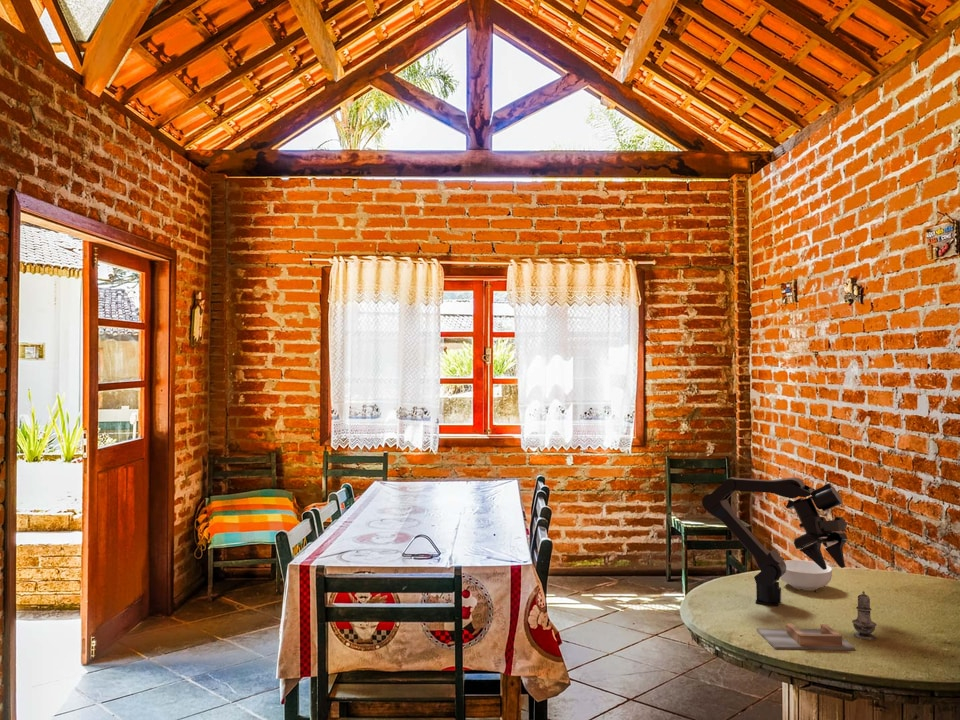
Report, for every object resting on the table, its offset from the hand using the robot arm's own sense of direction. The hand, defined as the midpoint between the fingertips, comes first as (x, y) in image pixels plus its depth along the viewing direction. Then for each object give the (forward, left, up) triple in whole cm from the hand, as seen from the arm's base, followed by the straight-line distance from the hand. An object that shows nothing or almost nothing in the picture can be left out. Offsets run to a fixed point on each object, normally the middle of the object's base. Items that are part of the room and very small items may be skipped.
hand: (834, 568), depth 212 cm
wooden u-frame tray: (-6, -24, -14) cm, 29 cm away
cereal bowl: (-11, +31, -15) cm, 36 cm away
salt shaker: (+8, -13, -14) cm, 21 cm away
